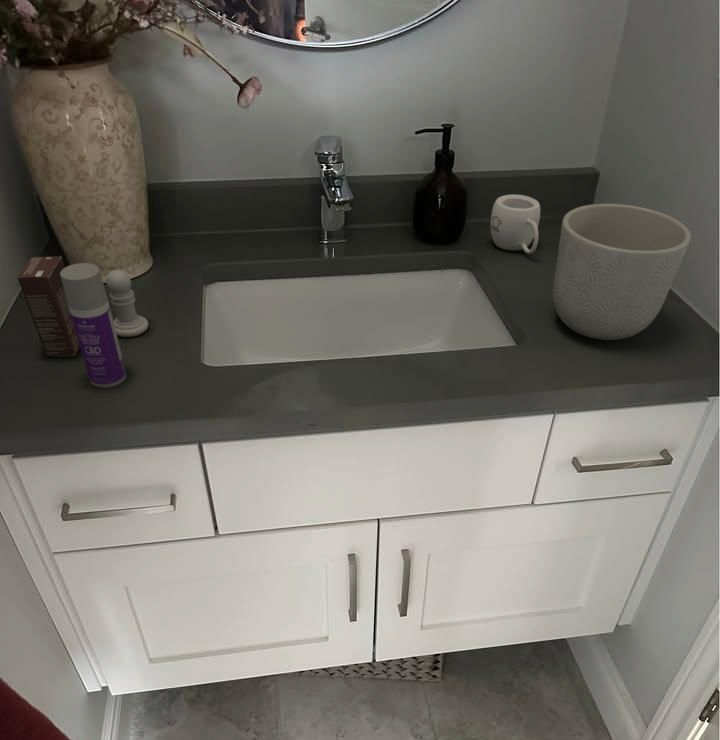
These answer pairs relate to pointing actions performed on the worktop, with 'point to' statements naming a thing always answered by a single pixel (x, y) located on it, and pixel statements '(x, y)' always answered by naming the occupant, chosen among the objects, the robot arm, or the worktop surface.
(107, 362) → the container
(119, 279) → the chess piece
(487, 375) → the worktop surface
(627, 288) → the planter
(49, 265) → the box
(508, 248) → the mug
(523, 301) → the worktop surface
